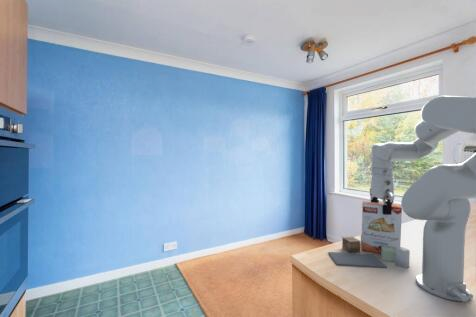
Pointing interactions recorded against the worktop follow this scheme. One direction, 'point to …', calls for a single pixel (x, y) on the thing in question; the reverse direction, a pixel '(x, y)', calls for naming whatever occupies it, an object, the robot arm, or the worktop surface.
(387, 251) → the sage block
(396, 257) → the grey rounded capsule
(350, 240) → the walnut block
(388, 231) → the cracker box
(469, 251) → the worktop surface
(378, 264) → the mat
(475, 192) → the robot arm
